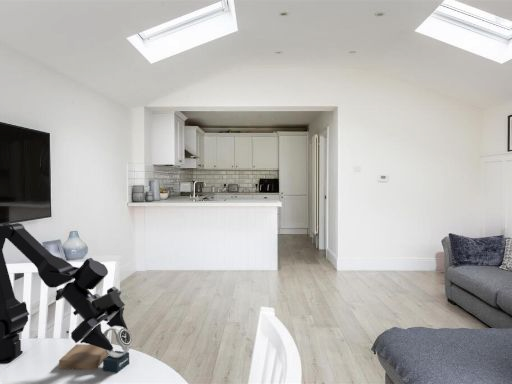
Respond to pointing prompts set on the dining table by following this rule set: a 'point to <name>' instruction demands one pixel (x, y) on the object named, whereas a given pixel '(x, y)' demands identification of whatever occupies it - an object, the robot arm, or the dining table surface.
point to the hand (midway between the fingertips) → (120, 342)
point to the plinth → (83, 357)
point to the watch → (118, 358)
